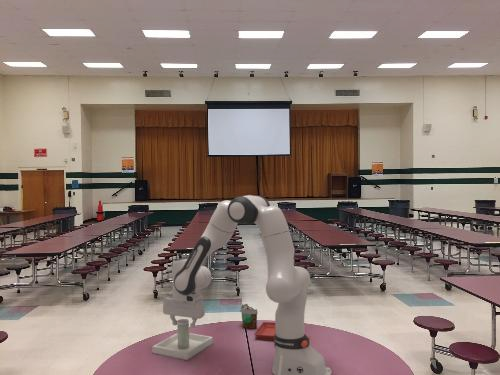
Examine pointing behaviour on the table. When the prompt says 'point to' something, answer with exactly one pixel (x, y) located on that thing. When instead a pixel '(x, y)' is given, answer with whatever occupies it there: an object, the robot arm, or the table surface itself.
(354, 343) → the table surface
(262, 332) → the plant saucer
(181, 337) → the cylinder
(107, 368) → the table surface
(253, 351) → the table surface
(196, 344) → the tray
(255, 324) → the food container
